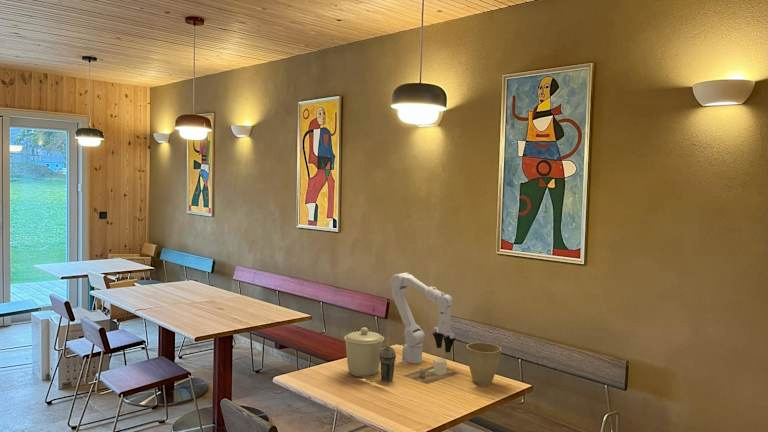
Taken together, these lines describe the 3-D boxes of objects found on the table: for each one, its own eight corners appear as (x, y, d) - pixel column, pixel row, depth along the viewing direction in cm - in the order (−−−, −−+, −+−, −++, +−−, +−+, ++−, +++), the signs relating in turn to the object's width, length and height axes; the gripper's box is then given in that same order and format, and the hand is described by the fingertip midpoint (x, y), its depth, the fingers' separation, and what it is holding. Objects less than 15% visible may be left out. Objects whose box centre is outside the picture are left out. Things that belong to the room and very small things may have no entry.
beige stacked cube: (433, 369, 255) (433, 358, 255) (444, 369, 256) (444, 358, 255) (435, 373, 250) (435, 362, 250) (446, 372, 251) (446, 362, 250)
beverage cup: (396, 380, 243) (397, 334, 243) (394, 385, 236) (396, 339, 235) (379, 379, 244) (380, 334, 243) (377, 384, 237) (378, 338, 236)
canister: (340, 368, 258) (342, 323, 257) (379, 366, 261) (380, 322, 260) (345, 381, 240) (347, 333, 239) (386, 379, 244) (388, 332, 243)
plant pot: (461, 385, 239) (462, 349, 238) (470, 375, 252) (471, 340, 252) (495, 391, 233) (497, 354, 232) (503, 381, 246) (504, 345, 245)
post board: (402, 378, 246) (403, 367, 246) (434, 368, 261) (435, 358, 261) (427, 386, 236) (427, 375, 236) (458, 375, 252) (459, 365, 251)
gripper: (428, 318, 263) (428, 346, 264) (445, 325, 250) (444, 355, 251) (441, 317, 266) (440, 345, 267) (458, 324, 253) (457, 353, 254)
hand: (443, 349), depth 259 cm, fingers open, 7 cm apart
